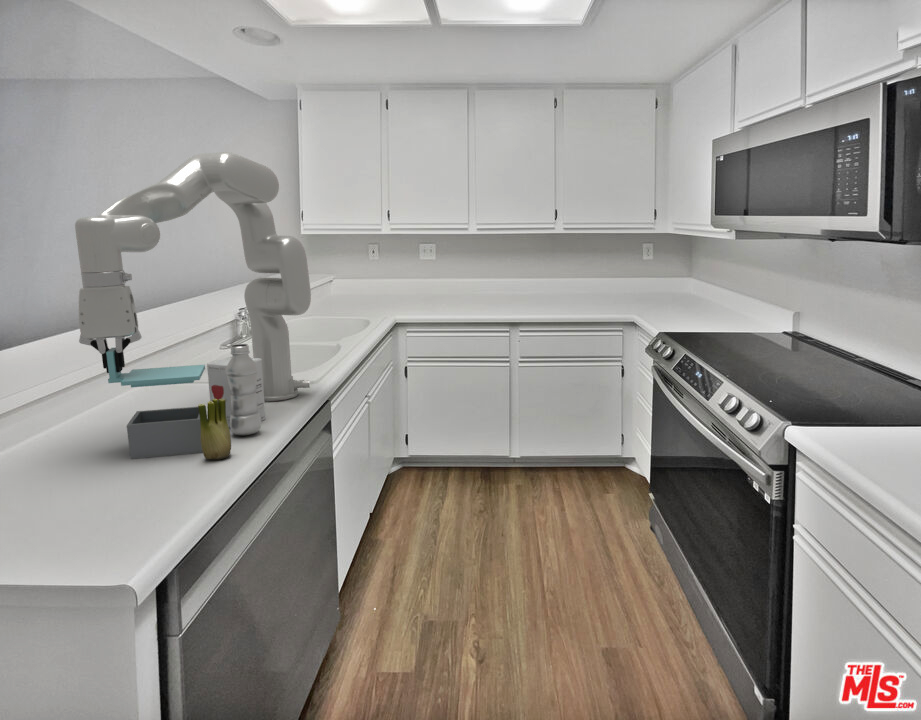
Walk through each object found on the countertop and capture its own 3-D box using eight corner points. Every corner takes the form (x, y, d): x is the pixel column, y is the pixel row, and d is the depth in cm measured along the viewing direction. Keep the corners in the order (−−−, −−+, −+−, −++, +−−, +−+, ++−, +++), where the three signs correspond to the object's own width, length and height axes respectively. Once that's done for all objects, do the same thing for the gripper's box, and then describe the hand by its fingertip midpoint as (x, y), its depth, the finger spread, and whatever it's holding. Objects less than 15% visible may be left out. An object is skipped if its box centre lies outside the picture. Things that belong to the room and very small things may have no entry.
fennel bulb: (203, 463, 141) (197, 404, 139) (201, 456, 146) (195, 398, 143) (234, 459, 143) (229, 401, 141) (231, 452, 148) (226, 395, 146)
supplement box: (210, 426, 166) (204, 363, 164) (235, 416, 175) (230, 355, 172) (243, 429, 163) (238, 365, 160) (267, 419, 172) (262, 357, 169)
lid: (205, 371, 156) (202, 339, 155) (199, 383, 145) (196, 349, 144) (117, 378, 152) (113, 344, 151) (105, 391, 141) (100, 355, 140)
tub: (208, 436, 159) (205, 406, 157) (203, 452, 148) (200, 419, 147) (140, 442, 155) (136, 411, 154) (130, 458, 145) (126, 425, 143)
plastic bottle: (229, 432, 162) (221, 344, 158) (260, 428, 164) (253, 341, 160) (232, 440, 156) (224, 349, 152) (264, 436, 158) (257, 346, 154)
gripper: (148, 277, 148) (158, 364, 152) (66, 280, 144) (78, 370, 148) (141, 280, 141) (152, 372, 145) (55, 284, 137) (68, 378, 141)
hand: (114, 370), depth 146 cm, fingers closed on lid, 1 cm apart
